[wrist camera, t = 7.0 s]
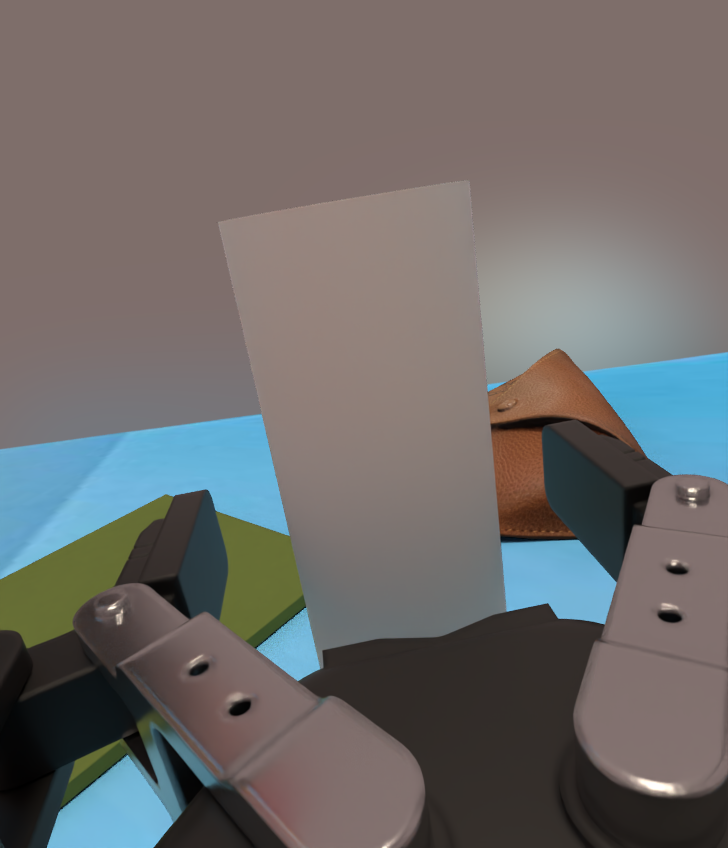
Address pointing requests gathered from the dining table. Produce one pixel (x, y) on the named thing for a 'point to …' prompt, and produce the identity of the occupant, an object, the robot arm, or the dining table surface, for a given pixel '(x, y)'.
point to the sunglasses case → (522, 439)
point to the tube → (375, 407)
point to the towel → (99, 570)
